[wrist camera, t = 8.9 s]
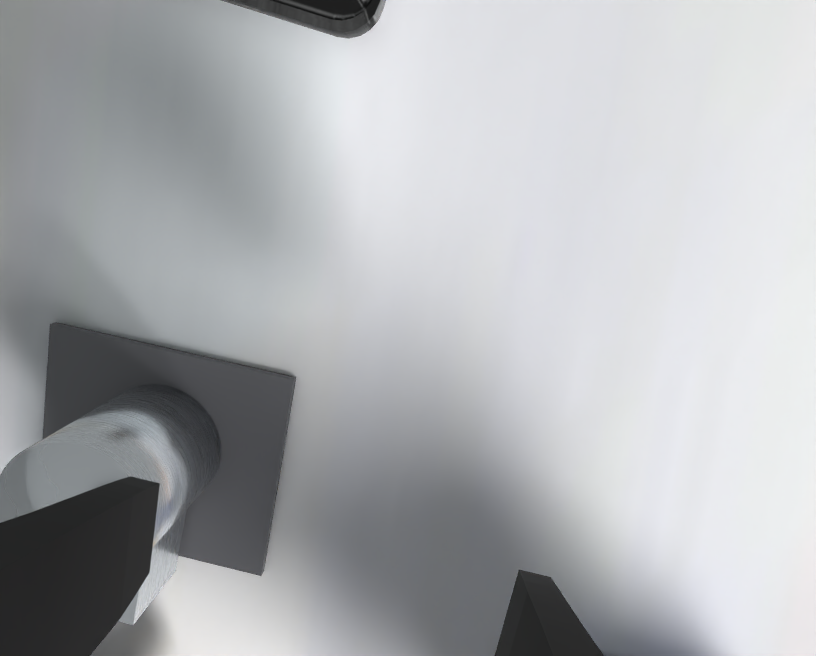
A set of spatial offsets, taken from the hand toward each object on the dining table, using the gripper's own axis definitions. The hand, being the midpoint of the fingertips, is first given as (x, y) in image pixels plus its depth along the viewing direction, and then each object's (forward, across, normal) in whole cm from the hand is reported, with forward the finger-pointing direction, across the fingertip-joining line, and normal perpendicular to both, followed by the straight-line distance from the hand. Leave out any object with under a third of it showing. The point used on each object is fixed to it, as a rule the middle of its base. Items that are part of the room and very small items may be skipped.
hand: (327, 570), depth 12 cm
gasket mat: (+10, +8, +4) cm, 13 cm away
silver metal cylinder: (+10, +8, +5) cm, 13 cm away
